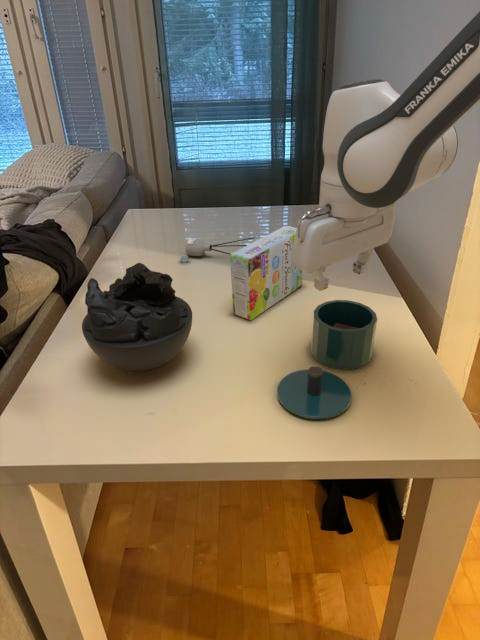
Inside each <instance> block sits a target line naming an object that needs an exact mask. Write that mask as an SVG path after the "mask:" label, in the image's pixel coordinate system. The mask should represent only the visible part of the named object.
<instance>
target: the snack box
mask: <svg viewBox="0 0 480 640" xmlns="http://www.w3.org/2000/svg"><path fill="white" fill-rule="evenodd" d="M296 229H297V227H294V226H290V225H284V226H282V227H280V228H278V229H276V230H275V231H272V232H271V233H269V234H266V235H264V236H263V237H260V238H258V239H257V240H254V241H253V242H251V243H249V244H246V245H247V246H242V247H241V248H239V249H237V250H235V251H234V252H231V253H230V255H229V263H230V279H231V292H232V293H231V296H232V297H231V298H232V313H233V316H237V317H240V318H243V319H245V320H248V321H252V320H254V319H255V318H256V317H258V316H259V315H262V314H263V313H264V312H265V311H267V310H268V309H269V308H271V307H273V306H274V305H275V304H277V303H278V302H280V301H281V300H283V299H285V298H286V297H287V296H288V295H290V294H293V292H294V291H296V290H298V289H299V288H300V287H302V286H303V271H302V270H300V269H298V268H296V267H295V266H294V264H293V263H292V252H293V244H294V238H295V233H296Z"/></svg>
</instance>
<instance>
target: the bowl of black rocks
mask: <svg viewBox="0 0 480 640" xmlns="http://www.w3.org/2000/svg"><path fill="white" fill-rule="evenodd" d="M173 281H174V280H173V278H172V277H171V275H170V274H168V273H163V272H159V271H154V270H151V269H150V268H148V266H146V265H145V264H144V263H141V262H137V263H135V264H133V265H132V266H129V267H126V268H125V275H123V277H122V278H120V277H118V278H116V279H115V281H114V282H113V283H111V284H110V285H109V287H108V288H109V290H101V287H100V286H99V285H100V284H99V282H98V280H97V279H96V278H93V277H91V278H89V280H88V282H87V285H86V289H87V291H86V293H85V297H84V300H85V301H84V303H85V305H86V307H87V308H86V309H87V311H86V312H87V313H86V315H85V316H84V318H83V320H82V323H81V330H82V334H83V337H84V339H85V341H86V343H87V345H88V347H89V348H90V349H91V351H92V352H93V353H94V354H95V356H97V357H98V358H99V359H101V360H102V361H103V362H104V363H106V364H108V365H110V366H112V367H114V368H115V369H119V370H123V371H129V372H144V371H151V370H154V369H157V368H159V367H162V366H163V365H165V364H167V363H168V362H170V361H171V360H172V359H174V358H175V357H176V356H177V355H178V354H179V353H180V352H181V351H182V349H183V348H184V347H185V345H186V342H187V341H188V338H189V336H190V333H191V330H192V325H193V311H192V308H191V306H190V305H189V303H188V302H186V301H185V300H184V299H183V298H181V297H179V296H176V290H175V289H174V288H173V287H172V283H173Z"/></svg>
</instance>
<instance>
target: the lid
mask: <svg viewBox="0 0 480 640" xmlns="http://www.w3.org/2000/svg"><path fill="white" fill-rule="evenodd" d="M276 395H277V398H278V401H279V402H280V404H281V405H282V406H283V407H284V409H286V410H287V411H289V412H290V413H292V414H293V415H296V416H299V417H301V418H305V419H311V420H327V419H331V418H334V417H337V416H339V415H341V414H342V413H344V412H345V411H346V410H347V409H348V408H349V406H350V404H351V401H352V391H351V389H350V386H349V385H348V384H347V382H346V381H344V379H342V378H341V377H339V376H338V375H336V374H334V373H331V372H328V371H326V370H323V368H321V367H320V366H310V367H309V368H308V369H300V370H296V371H293V372H291V373H289V374H287V375H286V376H284V377H283V378H282V379H281V380H280V381H279V383H278V385H277V390H276Z"/></svg>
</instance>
